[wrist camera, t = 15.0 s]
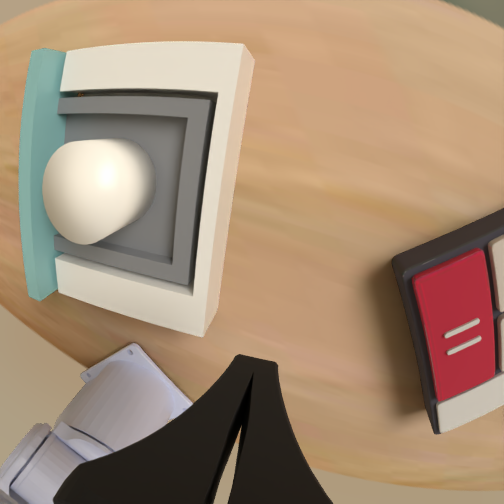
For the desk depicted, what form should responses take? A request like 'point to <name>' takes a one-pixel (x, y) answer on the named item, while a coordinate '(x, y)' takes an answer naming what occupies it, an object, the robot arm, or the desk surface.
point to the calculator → (457, 320)
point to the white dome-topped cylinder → (97, 187)
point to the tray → (106, 127)
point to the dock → (217, 177)
